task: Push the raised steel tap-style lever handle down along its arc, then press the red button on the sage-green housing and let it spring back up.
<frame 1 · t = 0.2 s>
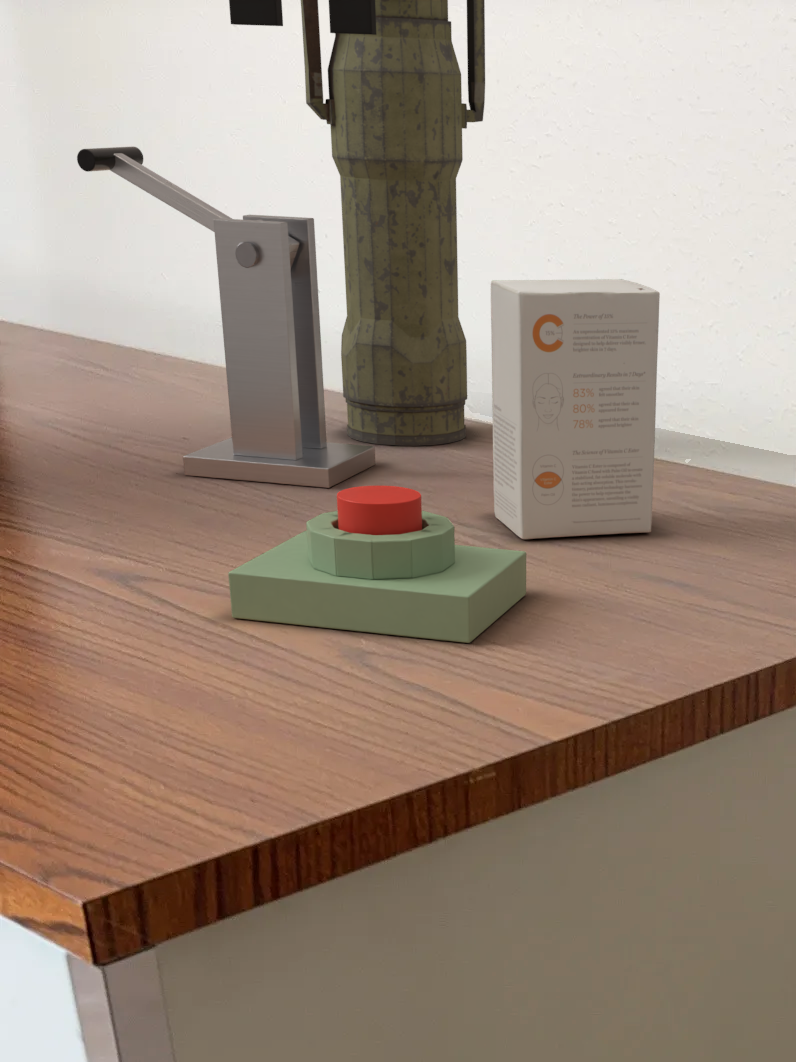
hand: (308, 30, 94), 25 cm above the table, tool pointing down, fingers open, 13 cm apart
thermos: (406, 437, 120), on the table
small box: (571, 528, 97), on the table
button box: (383, 606, 81), on the table
button: (379, 513, 79), point 4 cm above the table, slide at 0.1 cm
lever: (194, 208, 102), point 15 cm above the table, hinge at 25.0°
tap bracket: (282, 469, 108), on the table
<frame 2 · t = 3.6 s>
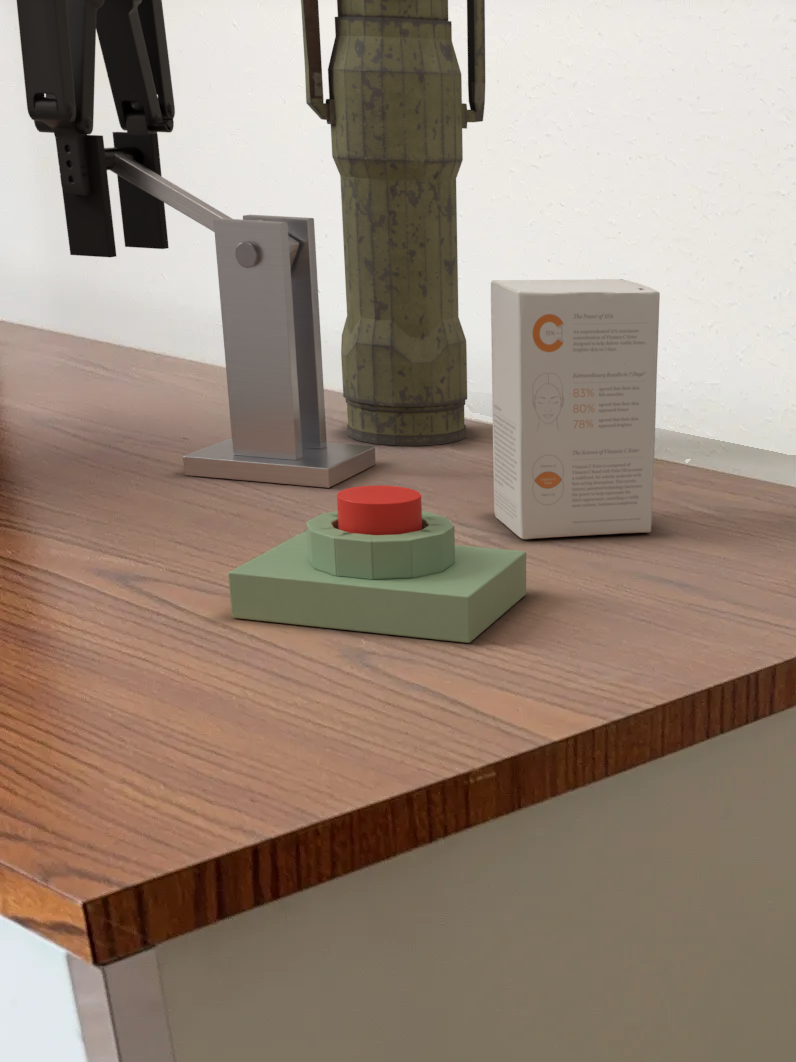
hand: (120, 250, 104), 13 cm above the table, tool pointing down, fingers closed on lever, 6 cm apart
lever: (194, 208, 102), point 15 cm above the table, hinge at 25.0°, touching gripper
everything else where it was.
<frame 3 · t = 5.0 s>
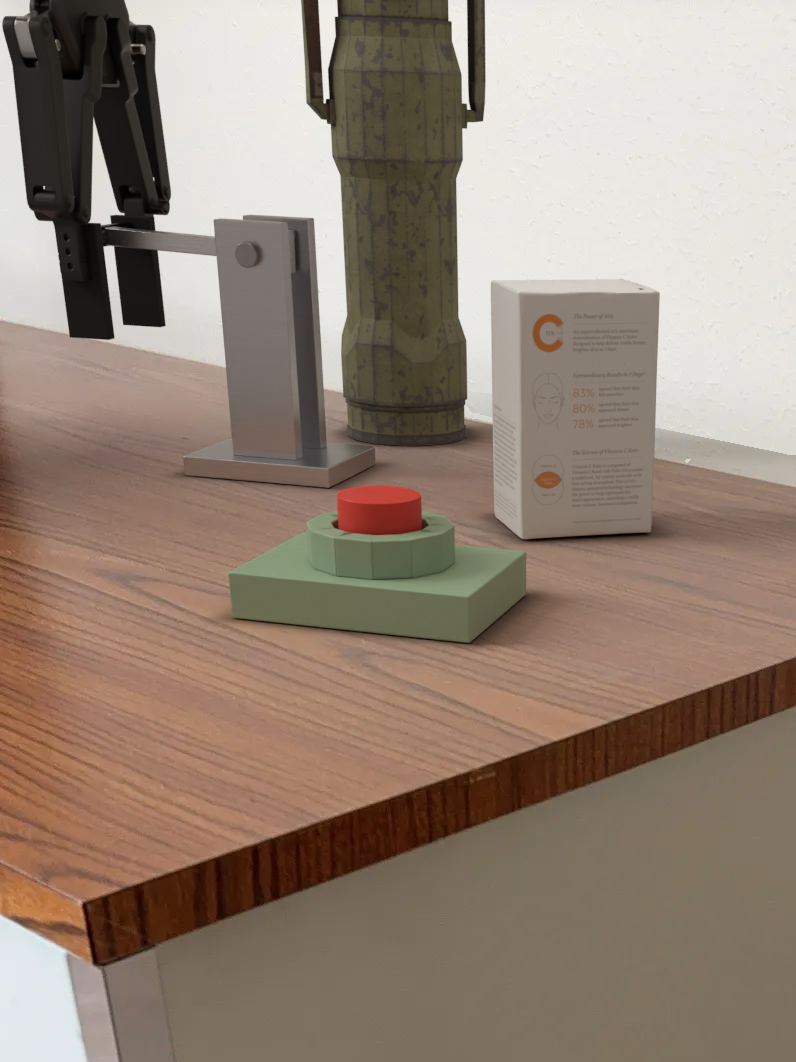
hand: (118, 330, 106), 8 cm above the table, tool pointing down, fingers closed on lever, 6 cm apart
lever: (191, 243, 103), point 13 cm above the table, hinge at 1.8°, touching gripper
everything else where it was.
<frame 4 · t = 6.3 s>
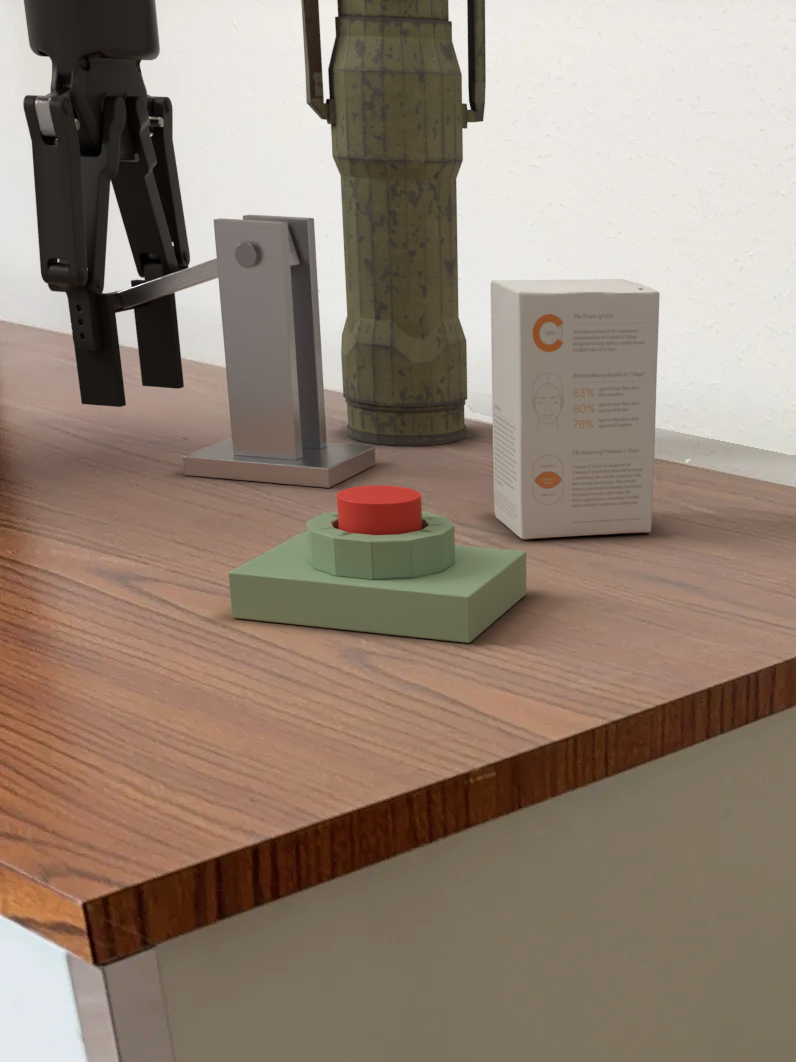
hand: (134, 394, 108), 4 cm above the table, tool pointing down, fingers open, 7 cm apart
lever: (197, 274, 103), point 11 cm above the table, hinge at -18.1°
everything else where it was.
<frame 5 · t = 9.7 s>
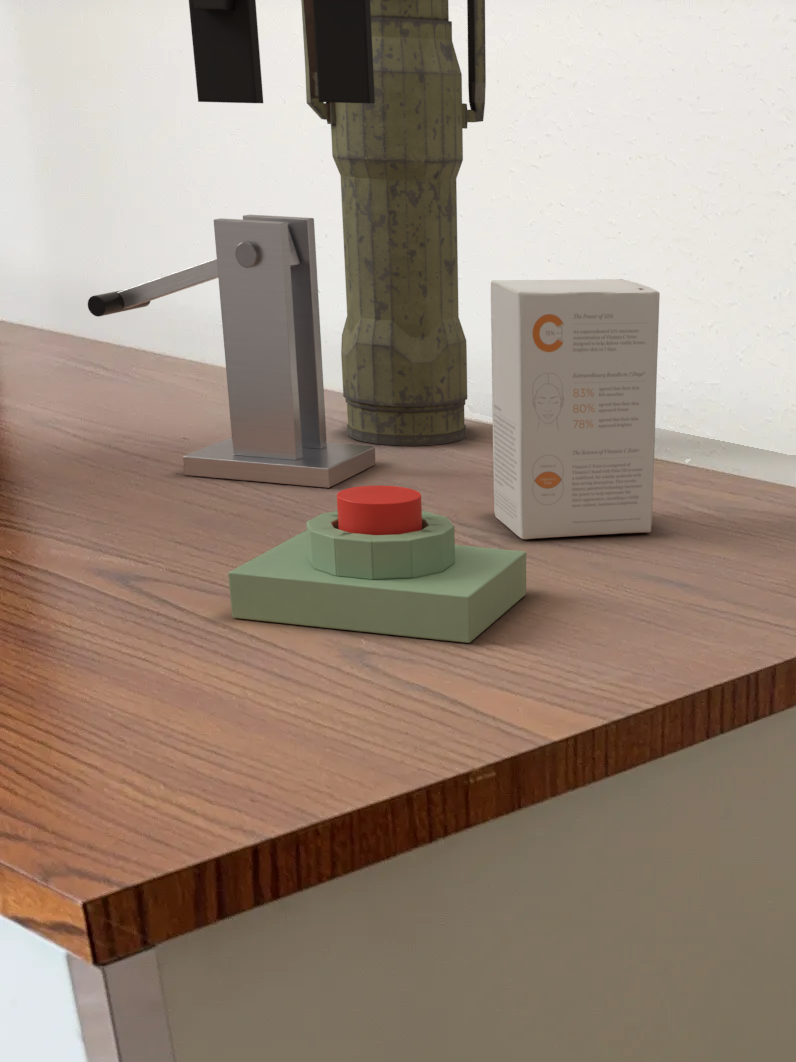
hand: (293, 103, 77), 21 cm above the table, tool pointing down, fingers open, 13 cm apart
nothing on the table moved.
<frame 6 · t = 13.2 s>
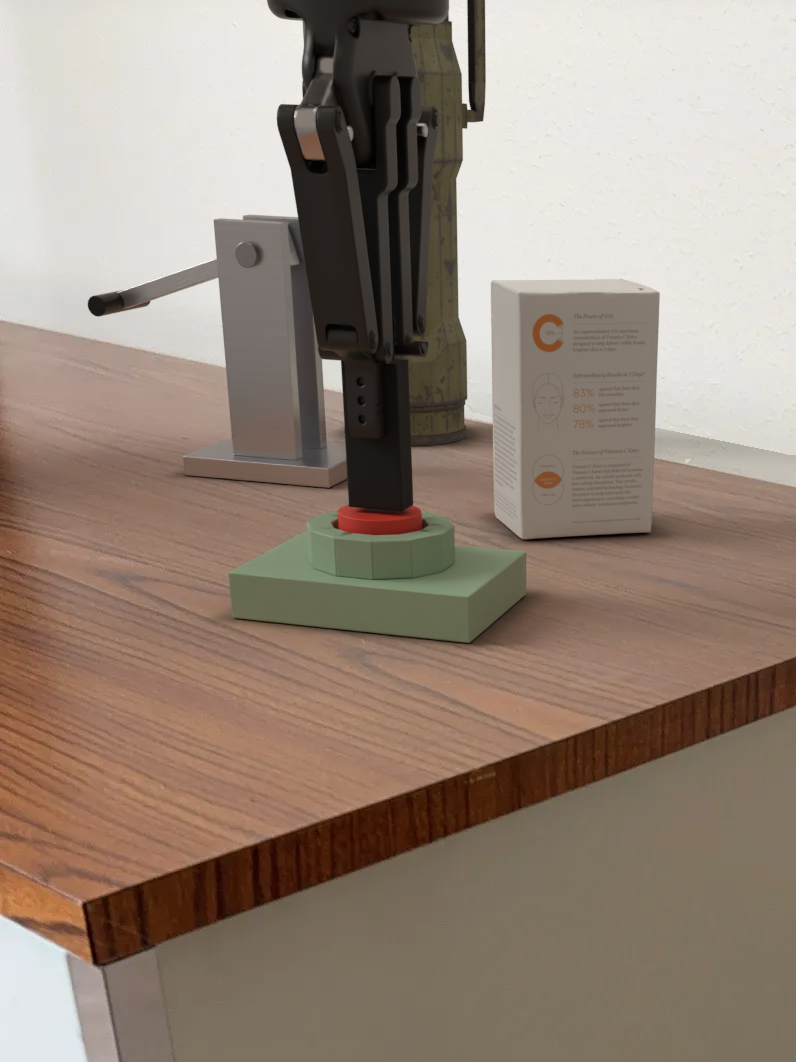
hand: (381, 505, 79), 5 cm above the table, tool pointing down, fingers closed
button: (380, 529, 79), point 4 cm above the table, slide at -0.7 cm, touching gripper
everything else where it was.
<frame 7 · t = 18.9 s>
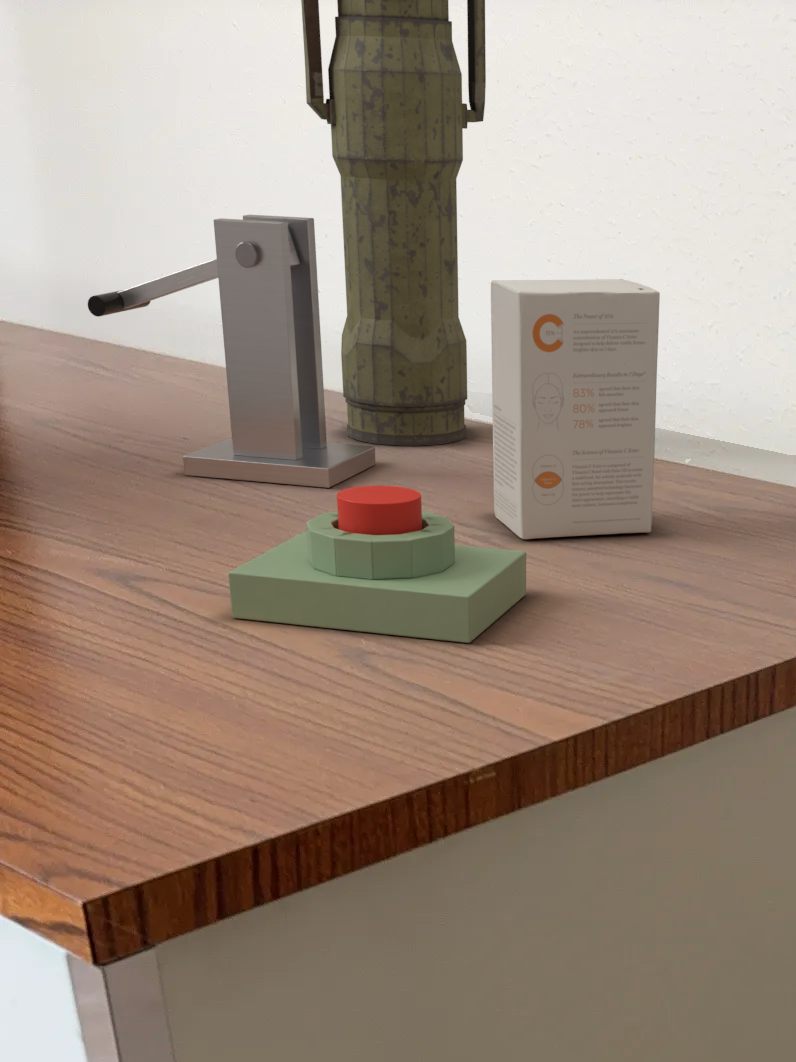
button: (379, 513, 79), point 4 cm above the table, slide at 0.1 cm
everything else where it was.
at the end: lever at -18° (first picture: +25°); button pushed in 1.0 cm at the most during the clip, back to where it started at the end; button slide at 0.1 cm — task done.
